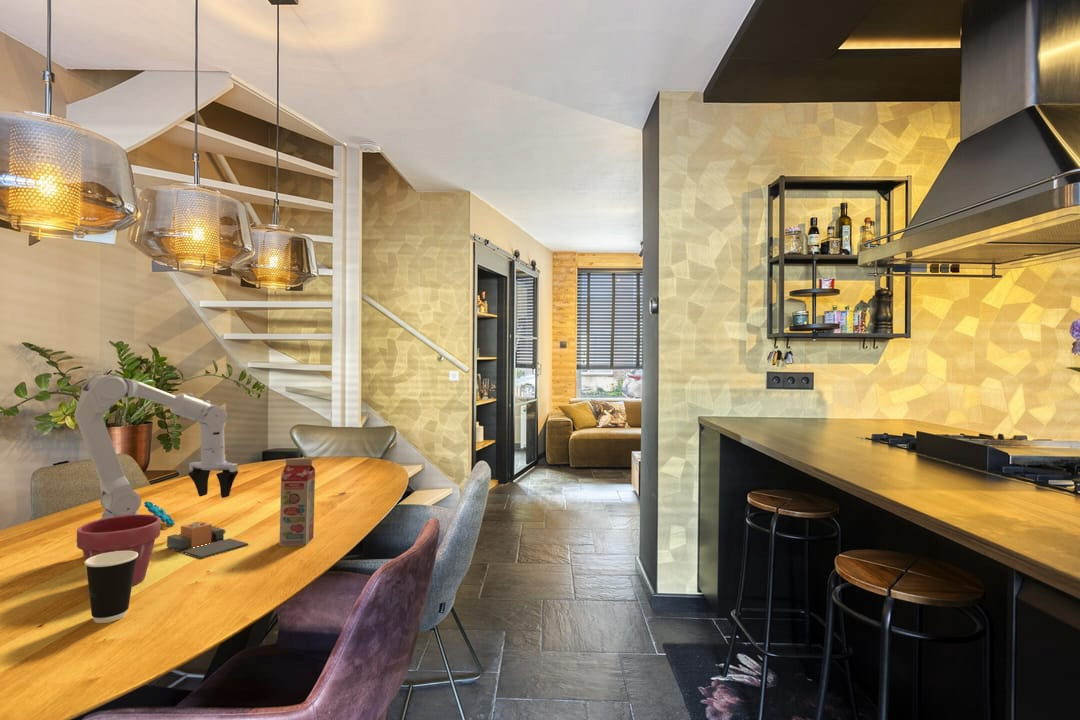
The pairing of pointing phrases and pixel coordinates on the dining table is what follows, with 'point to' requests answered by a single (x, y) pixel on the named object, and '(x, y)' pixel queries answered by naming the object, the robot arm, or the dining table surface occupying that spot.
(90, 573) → the dixie cup
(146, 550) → the plant pot
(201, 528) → the collar
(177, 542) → the vise
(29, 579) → the dining table surface
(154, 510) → the gear
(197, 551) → the panel
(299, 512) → the juice carton
